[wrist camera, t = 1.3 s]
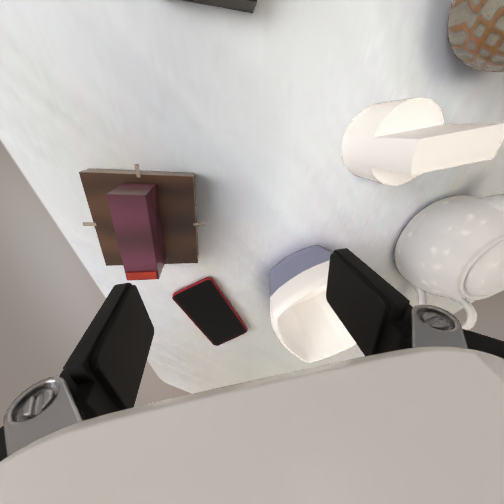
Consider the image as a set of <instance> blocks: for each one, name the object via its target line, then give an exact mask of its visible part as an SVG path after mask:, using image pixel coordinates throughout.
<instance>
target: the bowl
mask: <svg viewBox="0 0 504 504" xmlns="http://www.w3.org/2000/svg"><path fill="white" fill-rule="evenodd" d="M332 253H333V252H331V251H328V250H326V249H324V248H322V247H320V246H311V247H308V248H305V249H302V250H300V251H297V252H295V253H293V254H291V255H290V256H288V257H287V258H285V259H283V260H282V261H281V262H280V263H278V264H277V265H276V266H275V267H273V269H272V270H271V271H270V273H269V284H270V315H271V324H272V327H273V329H274V331H275V333H276V335H277V337H278V338H279V340H280V342H281V343H282V344H283V345H284V346H285V347H286V348H287V349H288V350H289V351H290V352H291V353H292V354H294V355H295V356H296V357H297V358H299V359H300V360H303V361H305V362H308V363H311V362H315V361H319V360H322V359H325V358H328V357H330V356H333V355H335V354H337V353H340V352H342V351H344V350H346V349H348V348H350V347H352V346H354V345H356V344H357V343H356V342H355V341H354V339H353V338H352V336H351V335H350V333H349V332H348V331H347V329H346V328H345V326H344V325H343V323H342V322H341V321H340V319H339V318H338V316H337V315H336V313H335V312H334V311H333V309H332V308H331V306H330V305H329V303H328V302H327V299H326V289H327V280H328V271H329V262H330V255H331V254H332Z"/></svg>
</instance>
